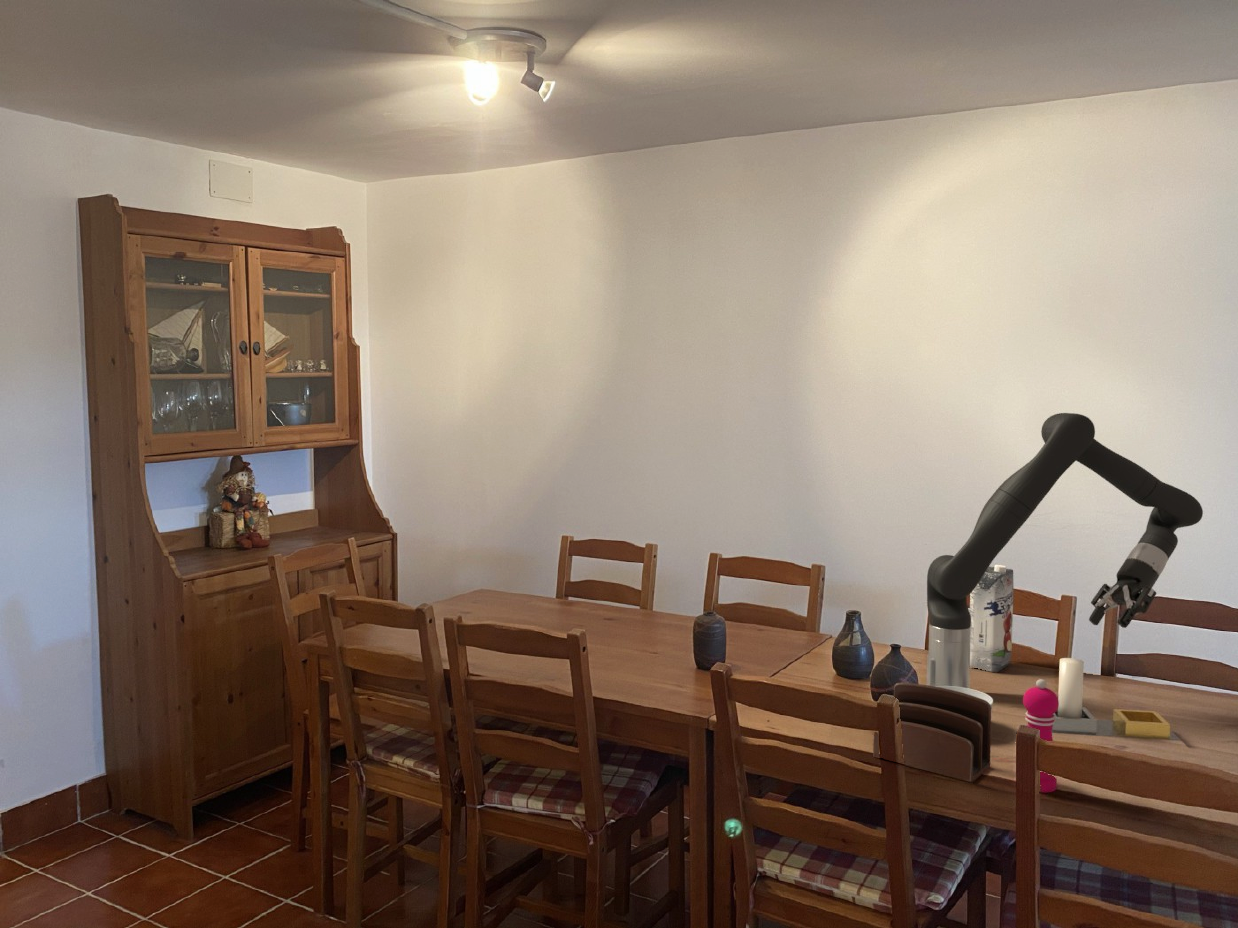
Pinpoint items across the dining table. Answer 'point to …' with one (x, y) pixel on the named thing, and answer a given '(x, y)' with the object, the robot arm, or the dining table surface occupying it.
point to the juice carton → (992, 620)
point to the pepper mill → (1042, 721)
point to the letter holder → (943, 731)
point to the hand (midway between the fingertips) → (1106, 624)
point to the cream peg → (1070, 688)
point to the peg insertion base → (1117, 725)
